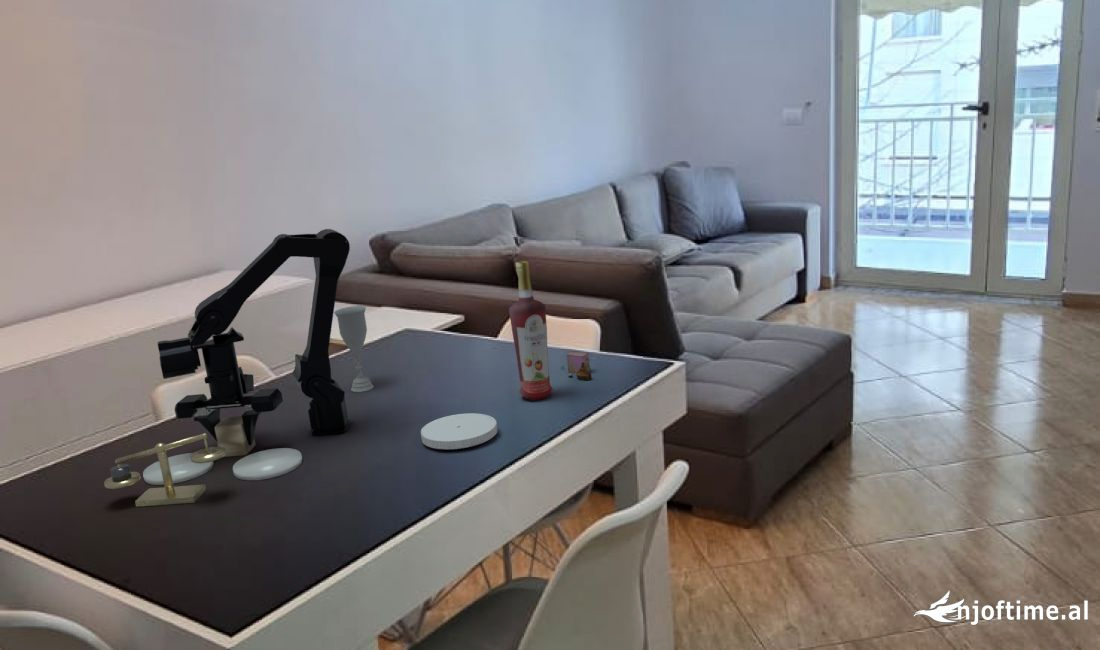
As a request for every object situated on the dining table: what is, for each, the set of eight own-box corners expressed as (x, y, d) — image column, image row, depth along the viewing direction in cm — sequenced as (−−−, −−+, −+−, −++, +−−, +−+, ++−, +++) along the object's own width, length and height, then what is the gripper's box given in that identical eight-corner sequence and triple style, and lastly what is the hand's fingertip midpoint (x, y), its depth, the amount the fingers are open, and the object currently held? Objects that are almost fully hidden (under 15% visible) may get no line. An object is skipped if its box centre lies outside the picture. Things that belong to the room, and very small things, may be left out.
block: (255, 444, 179) (250, 415, 177) (246, 454, 174) (240, 424, 172) (230, 446, 179) (224, 417, 177) (220, 456, 174) (214, 426, 173)
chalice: (370, 393, 203) (358, 313, 198) (341, 394, 204) (328, 315, 200) (382, 382, 210) (371, 305, 205) (354, 383, 211) (342, 306, 207)
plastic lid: (407, 445, 171) (405, 432, 171) (463, 421, 181) (461, 408, 180) (457, 460, 162) (455, 447, 161) (513, 434, 172) (512, 421, 171)
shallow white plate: (310, 450, 172) (309, 445, 172) (290, 477, 161) (289, 472, 161) (247, 455, 173) (246, 450, 173) (223, 482, 162) (222, 477, 161)
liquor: (526, 405, 185) (511, 268, 178) (513, 395, 192) (498, 263, 185) (560, 397, 188) (546, 261, 181) (545, 388, 195) (532, 257, 187)
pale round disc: (223, 455, 174) (222, 450, 174) (197, 482, 163) (196, 477, 163) (162, 460, 175) (161, 455, 175) (131, 487, 164) (130, 482, 163)
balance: (238, 486, 159) (226, 426, 156) (226, 501, 154) (213, 438, 151) (119, 495, 161) (105, 435, 158) (103, 509, 155) (88, 448, 152)
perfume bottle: (552, 380, 201) (550, 360, 199) (582, 363, 210) (580, 344, 209) (599, 386, 194) (597, 365, 193) (628, 368, 203) (626, 349, 202)
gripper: (284, 351, 179) (298, 426, 183) (191, 358, 180) (206, 433, 184) (265, 368, 168) (280, 448, 172) (165, 376, 170) (182, 455, 174)
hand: (237, 445), depth 176 cm, fingers closed on block, 5 cm apart
